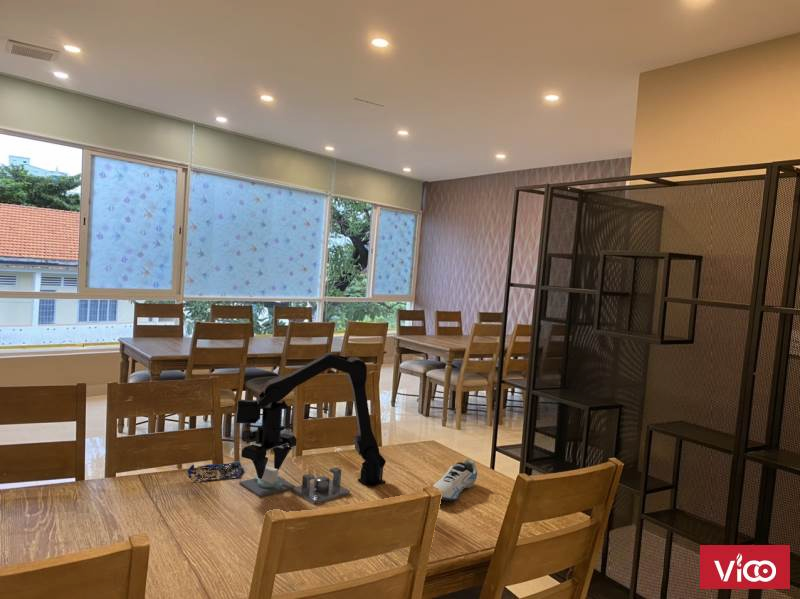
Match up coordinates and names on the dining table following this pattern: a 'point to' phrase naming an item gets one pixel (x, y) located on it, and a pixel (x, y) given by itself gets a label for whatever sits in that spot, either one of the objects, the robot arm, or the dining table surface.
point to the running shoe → (457, 479)
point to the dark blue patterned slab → (221, 469)
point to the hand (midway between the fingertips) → (268, 474)
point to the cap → (269, 479)
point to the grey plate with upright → (321, 487)
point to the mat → (262, 492)
